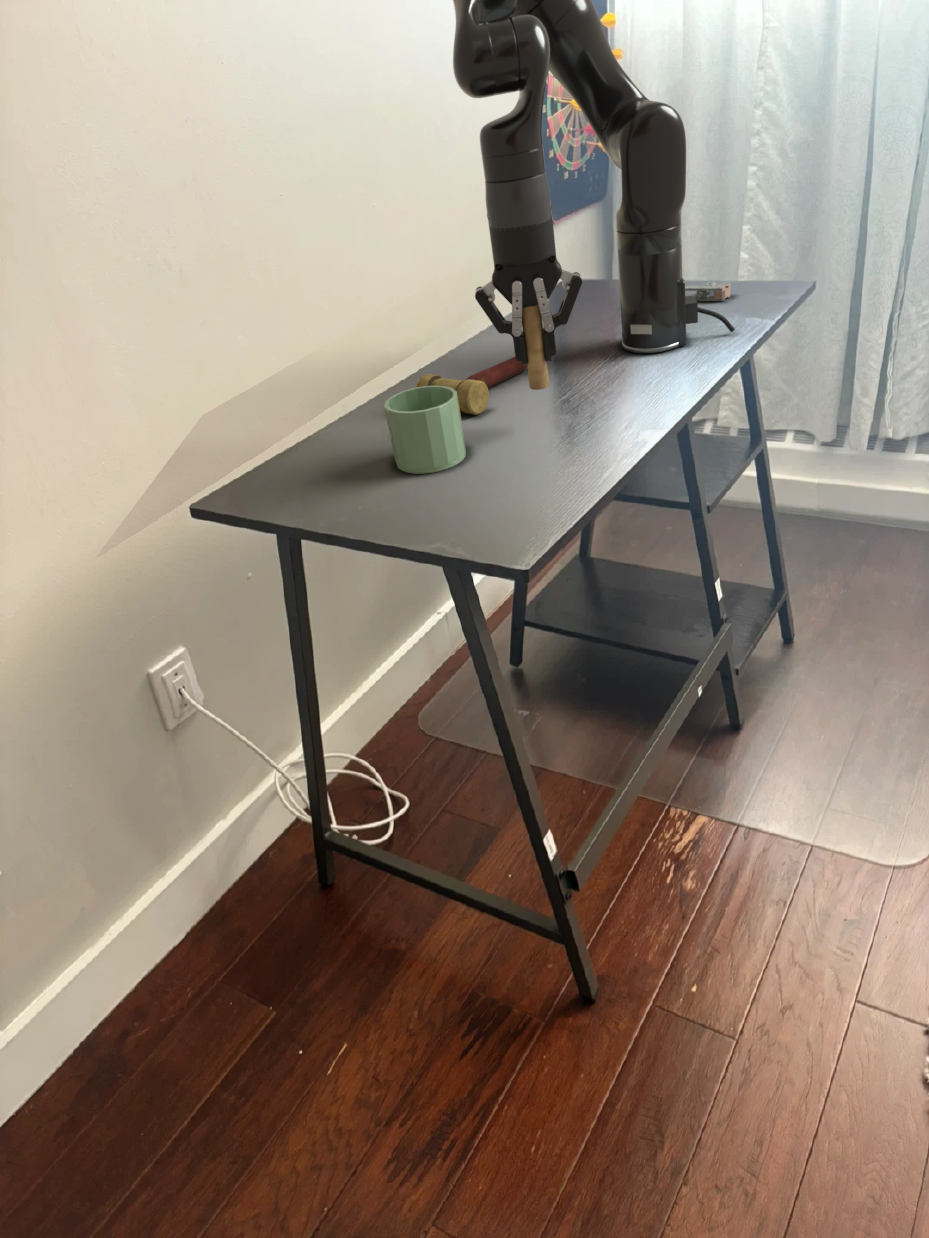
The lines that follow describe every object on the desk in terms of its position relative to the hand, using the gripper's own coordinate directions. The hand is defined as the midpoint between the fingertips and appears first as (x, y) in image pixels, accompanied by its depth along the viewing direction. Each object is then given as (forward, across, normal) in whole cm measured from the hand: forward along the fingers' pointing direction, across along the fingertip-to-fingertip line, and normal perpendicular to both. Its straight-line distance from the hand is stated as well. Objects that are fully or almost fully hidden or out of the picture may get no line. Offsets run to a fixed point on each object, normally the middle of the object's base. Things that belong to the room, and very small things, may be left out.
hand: (536, 360), depth 122 cm
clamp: (+9, +26, +48) cm, 56 cm away
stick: (+3, 0, 0) cm, 3 cm away
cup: (+9, -15, -6) cm, 18 cm away
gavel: (+9, -7, +16) cm, 20 cm away
